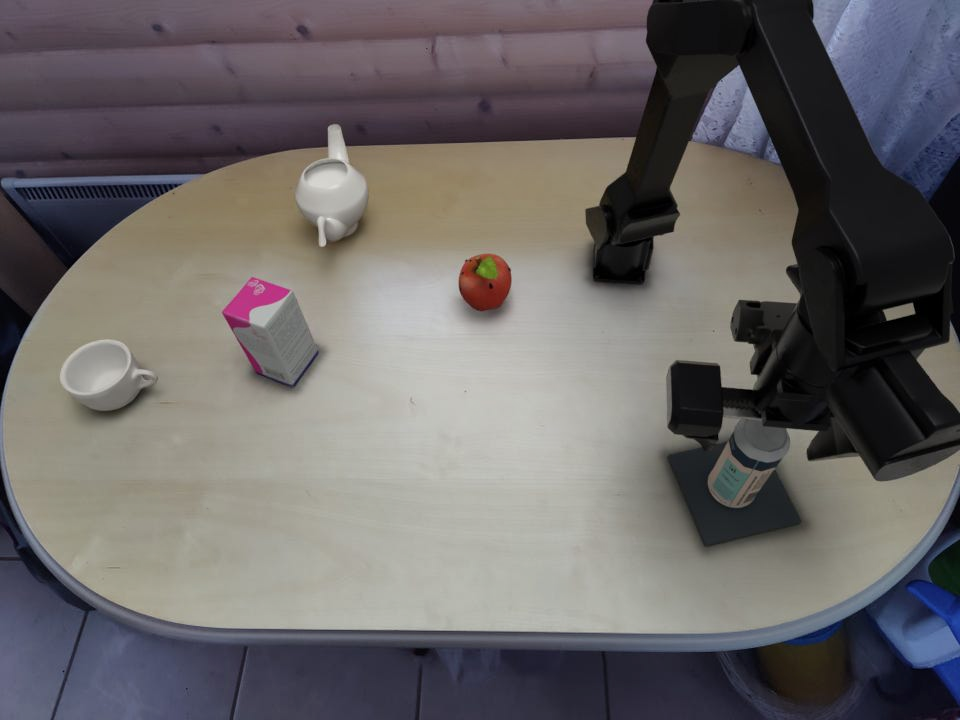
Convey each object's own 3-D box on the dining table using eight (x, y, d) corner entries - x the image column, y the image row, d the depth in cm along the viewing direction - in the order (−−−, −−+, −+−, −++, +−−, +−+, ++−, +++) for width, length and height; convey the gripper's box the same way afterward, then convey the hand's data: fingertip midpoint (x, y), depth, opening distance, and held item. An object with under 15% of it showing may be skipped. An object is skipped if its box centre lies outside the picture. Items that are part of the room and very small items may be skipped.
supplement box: (320, 350, 83) (294, 289, 73) (293, 389, 80) (263, 330, 70) (281, 336, 84) (250, 274, 75) (253, 372, 81) (218, 313, 72)
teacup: (75, 419, 79) (48, 395, 74) (98, 364, 83) (75, 338, 79) (158, 420, 78) (136, 396, 74) (178, 364, 82) (158, 338, 78)
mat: (704, 547, 67) (706, 545, 66) (667, 457, 72) (668, 454, 72) (800, 523, 68) (802, 521, 67) (755, 436, 73) (757, 434, 73)
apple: (447, 301, 86) (439, 245, 78) (488, 273, 88) (484, 216, 80) (487, 337, 82) (484, 283, 74) (528, 306, 85) (529, 251, 76)
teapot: (297, 281, 89) (276, 230, 81) (316, 178, 100) (299, 125, 93) (369, 278, 89) (355, 227, 81) (381, 175, 100) (369, 121, 92)
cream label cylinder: (757, 473, 70) (796, 416, 60) (751, 515, 68) (791, 463, 58) (710, 460, 71) (740, 402, 61) (702, 501, 69) (733, 448, 59)
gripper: (928, 279, 53) (848, 385, 66) (682, 264, 55) (652, 370, 68) (965, 402, 47) (870, 493, 60) (687, 379, 49) (653, 471, 62)
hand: (756, 451), depth 62 cm, fingers open, 9 cm apart
